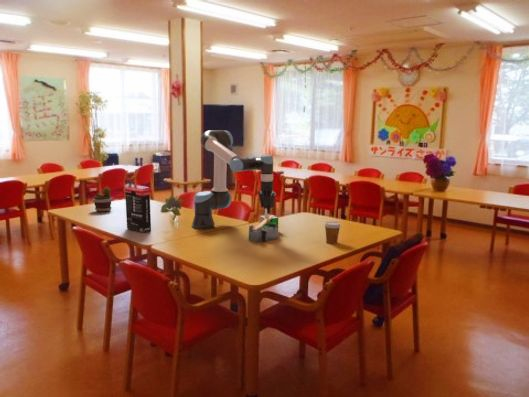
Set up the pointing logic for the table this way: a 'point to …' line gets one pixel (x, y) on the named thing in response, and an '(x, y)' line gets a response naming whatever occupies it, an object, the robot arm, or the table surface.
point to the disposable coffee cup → (332, 232)
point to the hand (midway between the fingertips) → (267, 218)
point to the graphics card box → (138, 209)
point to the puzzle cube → (274, 220)
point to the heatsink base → (263, 233)
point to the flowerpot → (103, 201)
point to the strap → (261, 224)
